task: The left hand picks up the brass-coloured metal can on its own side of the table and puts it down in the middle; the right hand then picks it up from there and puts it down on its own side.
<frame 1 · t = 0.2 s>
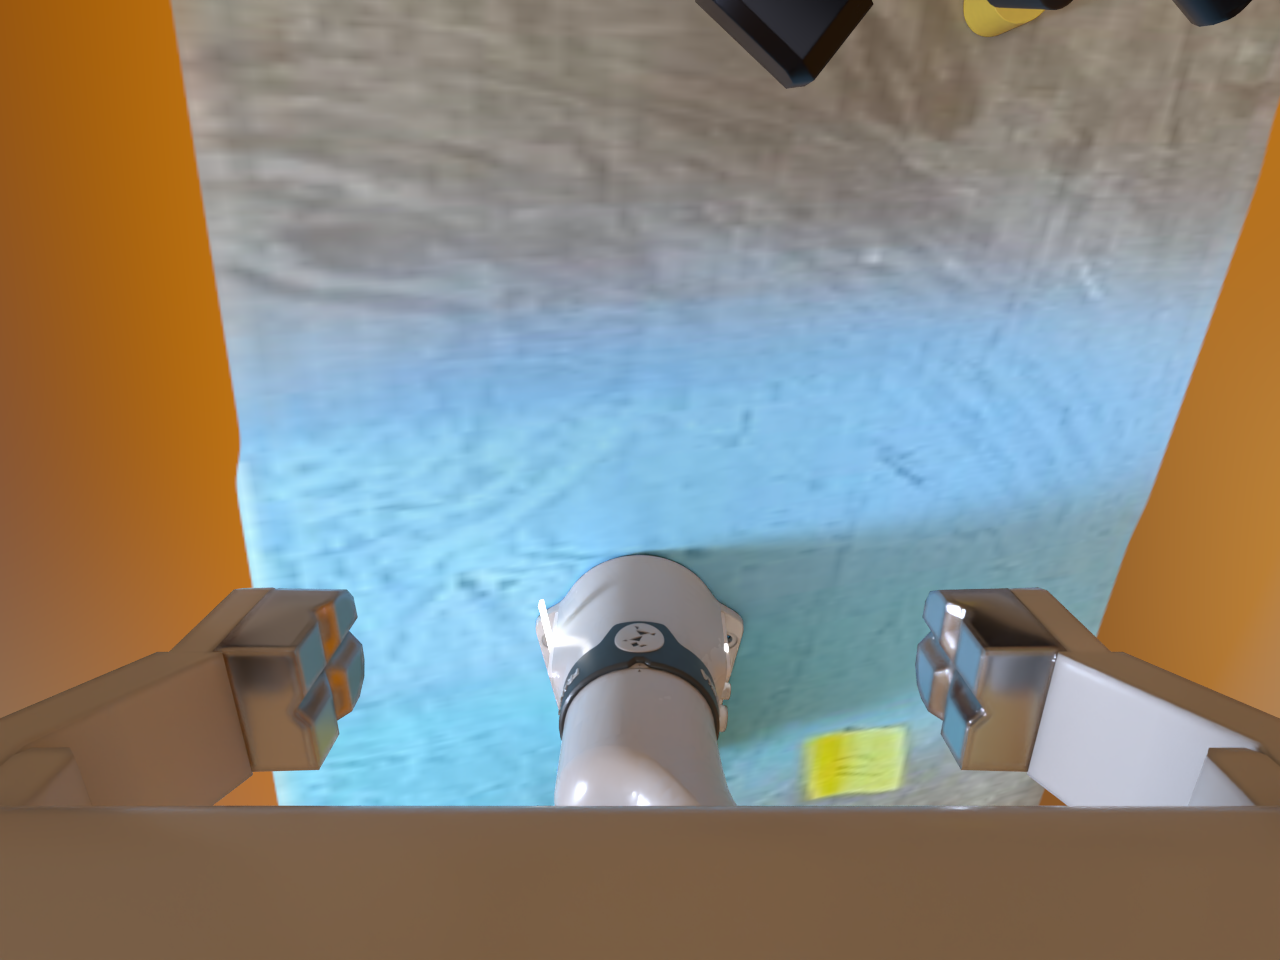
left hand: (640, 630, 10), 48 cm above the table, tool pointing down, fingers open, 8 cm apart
can: (993, 2, 48), on the table
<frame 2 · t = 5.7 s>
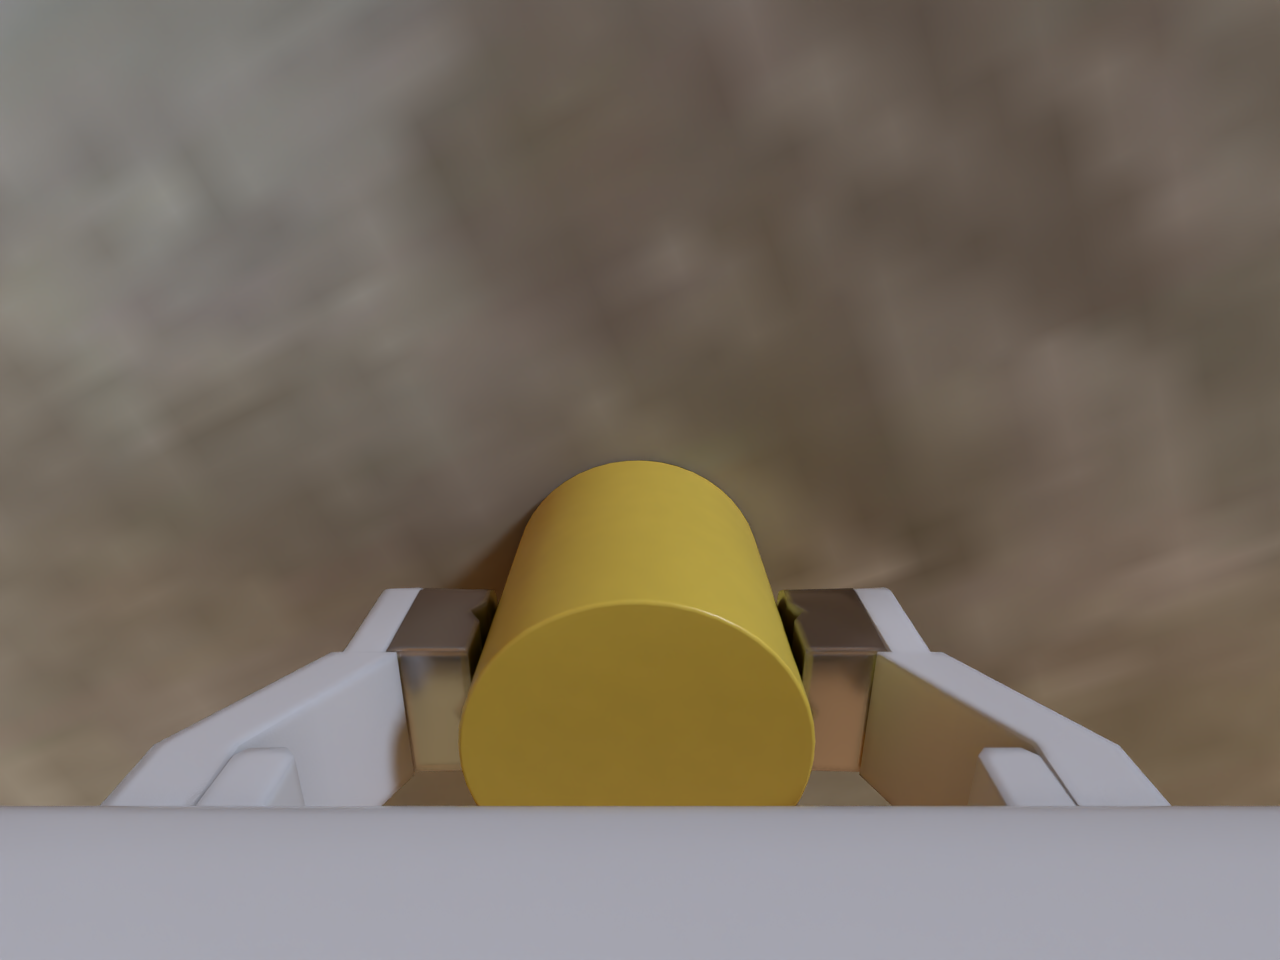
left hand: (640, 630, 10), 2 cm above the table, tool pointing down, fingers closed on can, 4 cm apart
can: (637, 572, 12), on the table, touching left hand
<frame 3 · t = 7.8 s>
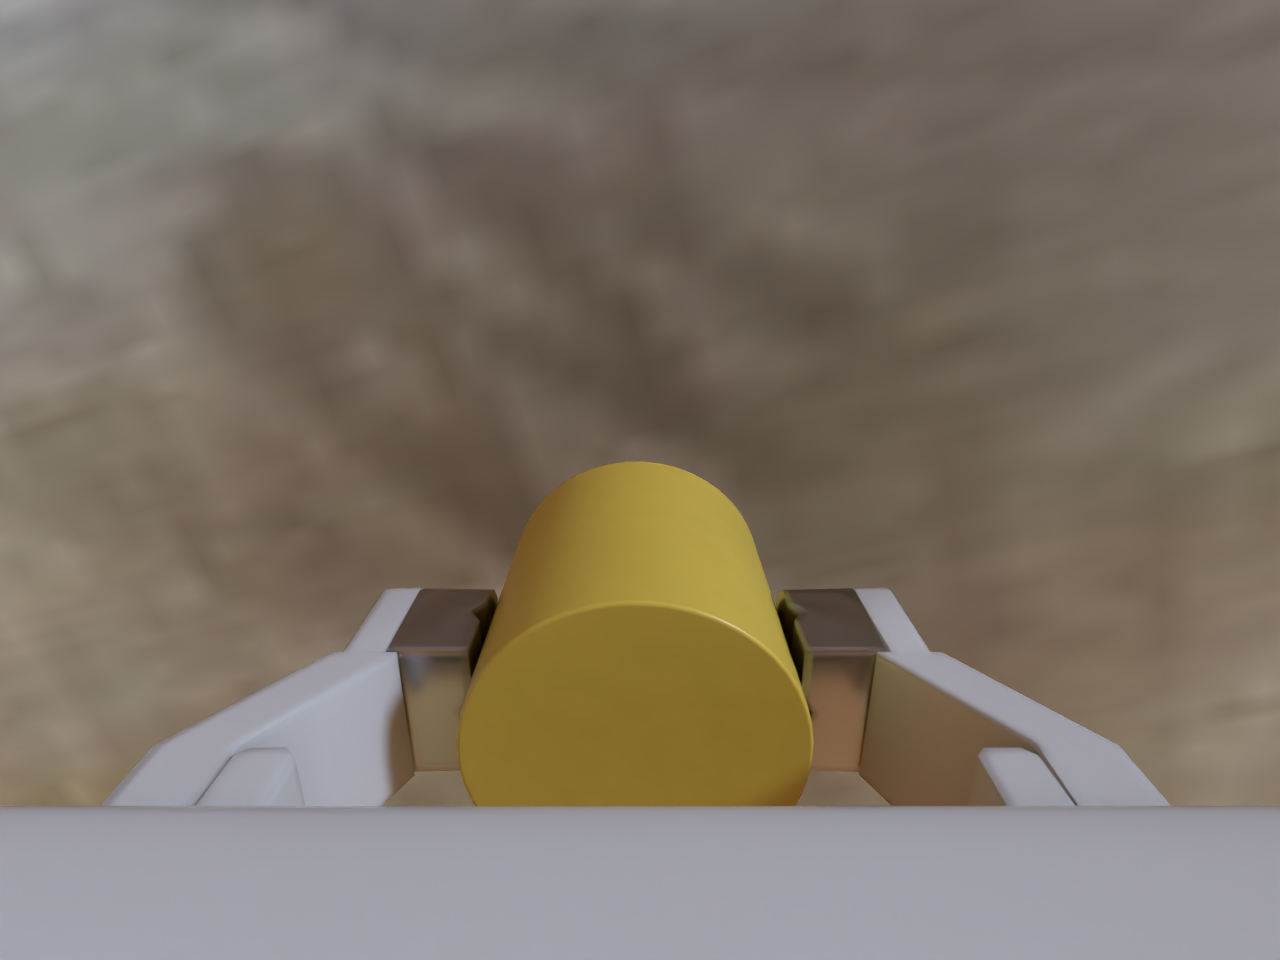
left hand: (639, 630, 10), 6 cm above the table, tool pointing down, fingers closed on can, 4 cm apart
can: (636, 573, 12), point 4 cm above the table, touching left hand
when the left hand's fingers open (3 cm above the table, at t = 9.7 s): can stays where it is, on the table.
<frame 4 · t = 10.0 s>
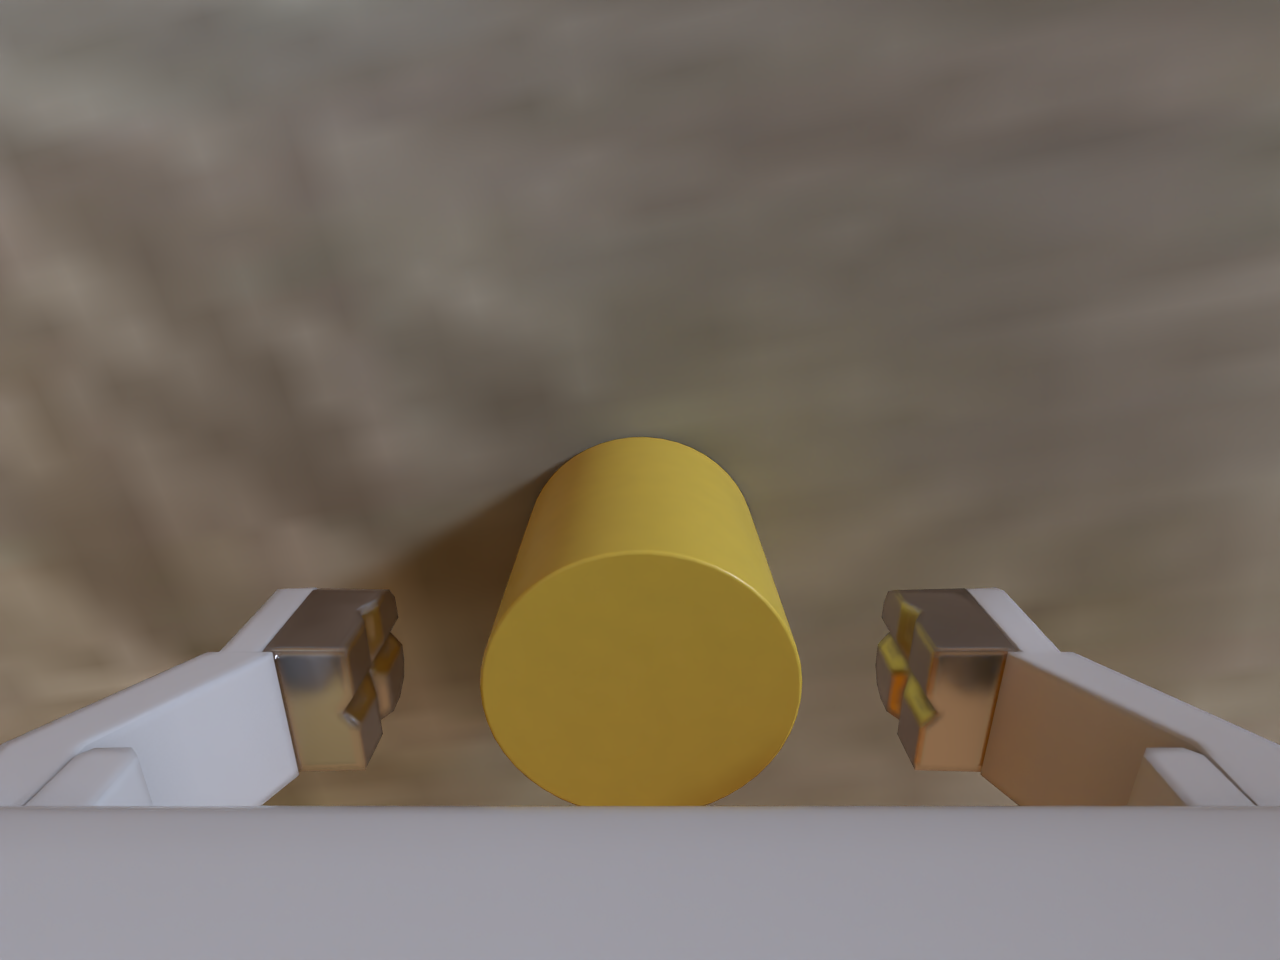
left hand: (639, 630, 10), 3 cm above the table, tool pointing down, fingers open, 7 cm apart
can: (640, 543, 13), on the table
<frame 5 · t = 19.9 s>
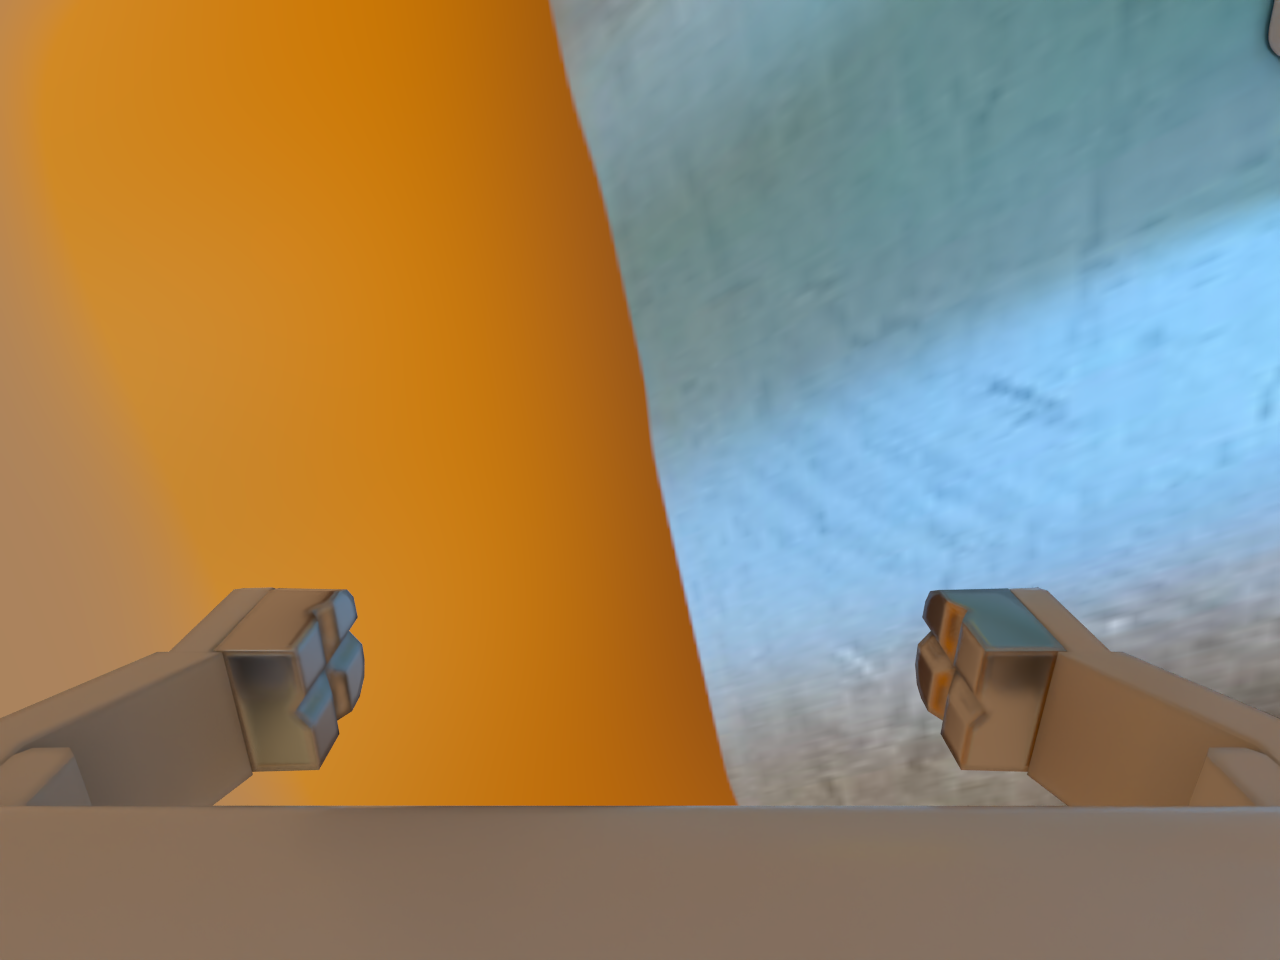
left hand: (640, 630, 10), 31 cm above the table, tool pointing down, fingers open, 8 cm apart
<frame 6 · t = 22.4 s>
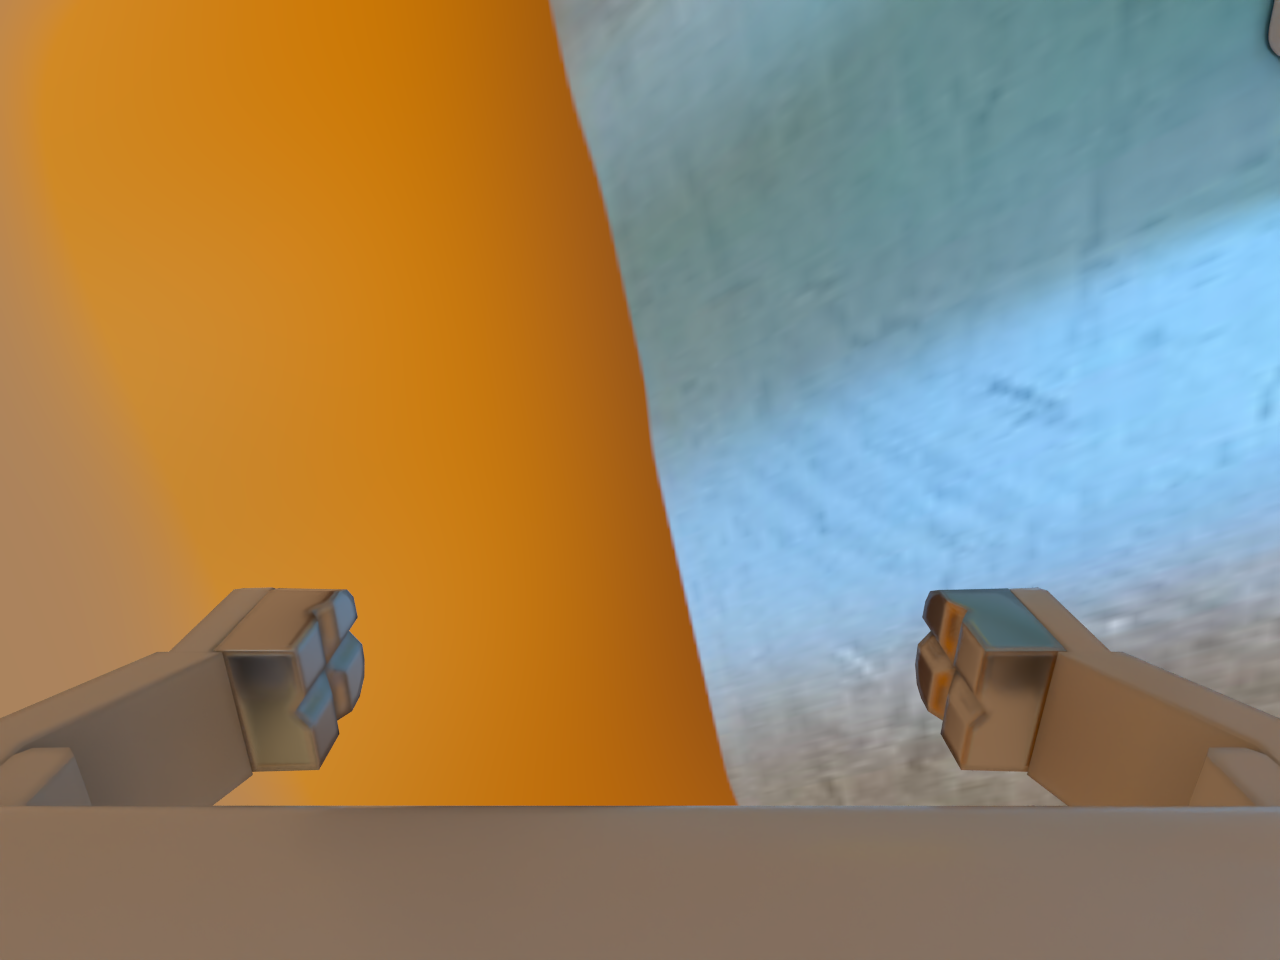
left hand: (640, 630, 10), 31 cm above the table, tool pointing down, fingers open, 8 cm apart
when the right hand's fingers open (2 cm above the table, at t = 25.1 s): can stays where it is, on the table.
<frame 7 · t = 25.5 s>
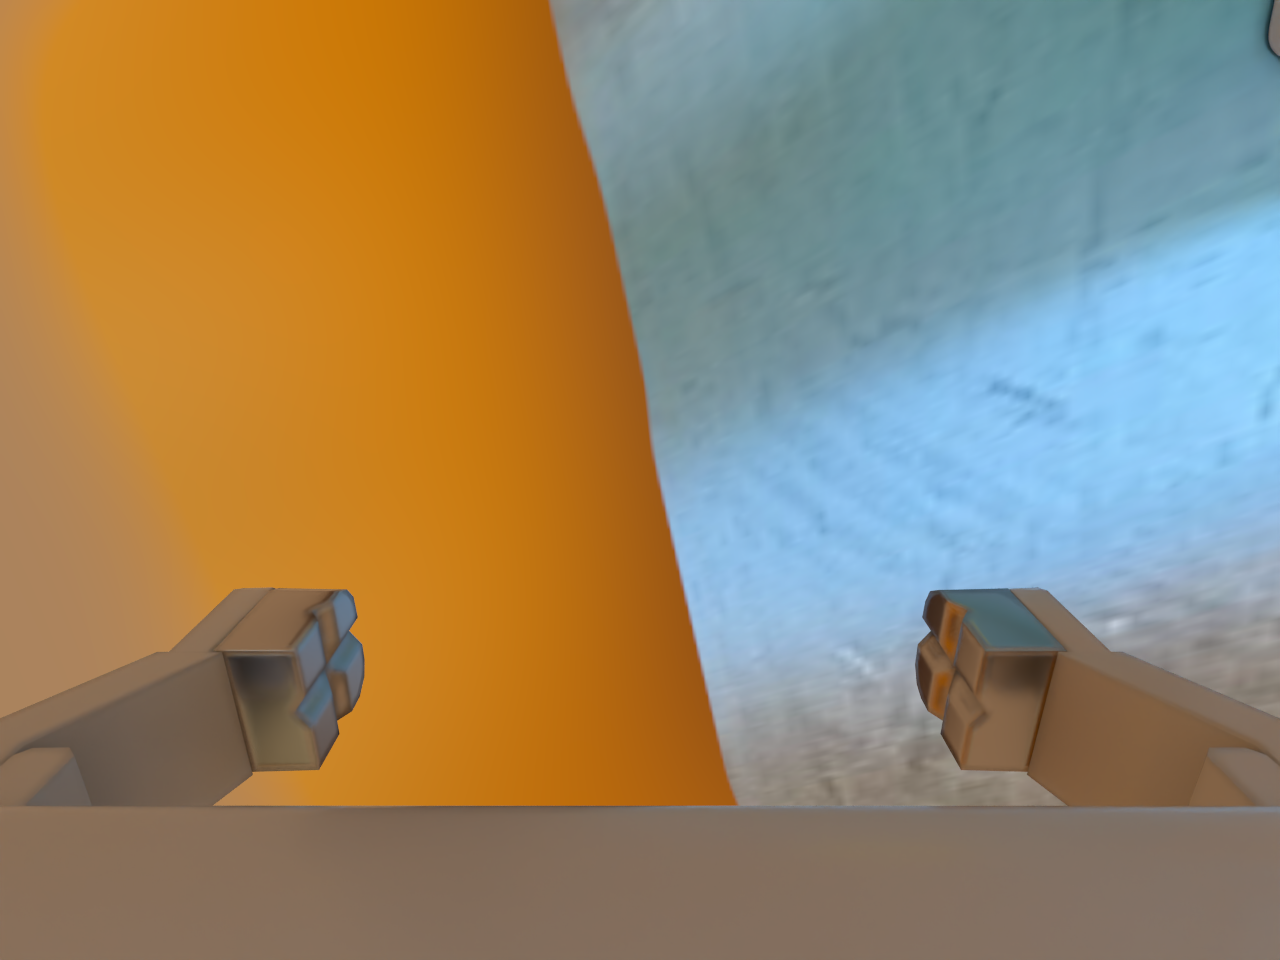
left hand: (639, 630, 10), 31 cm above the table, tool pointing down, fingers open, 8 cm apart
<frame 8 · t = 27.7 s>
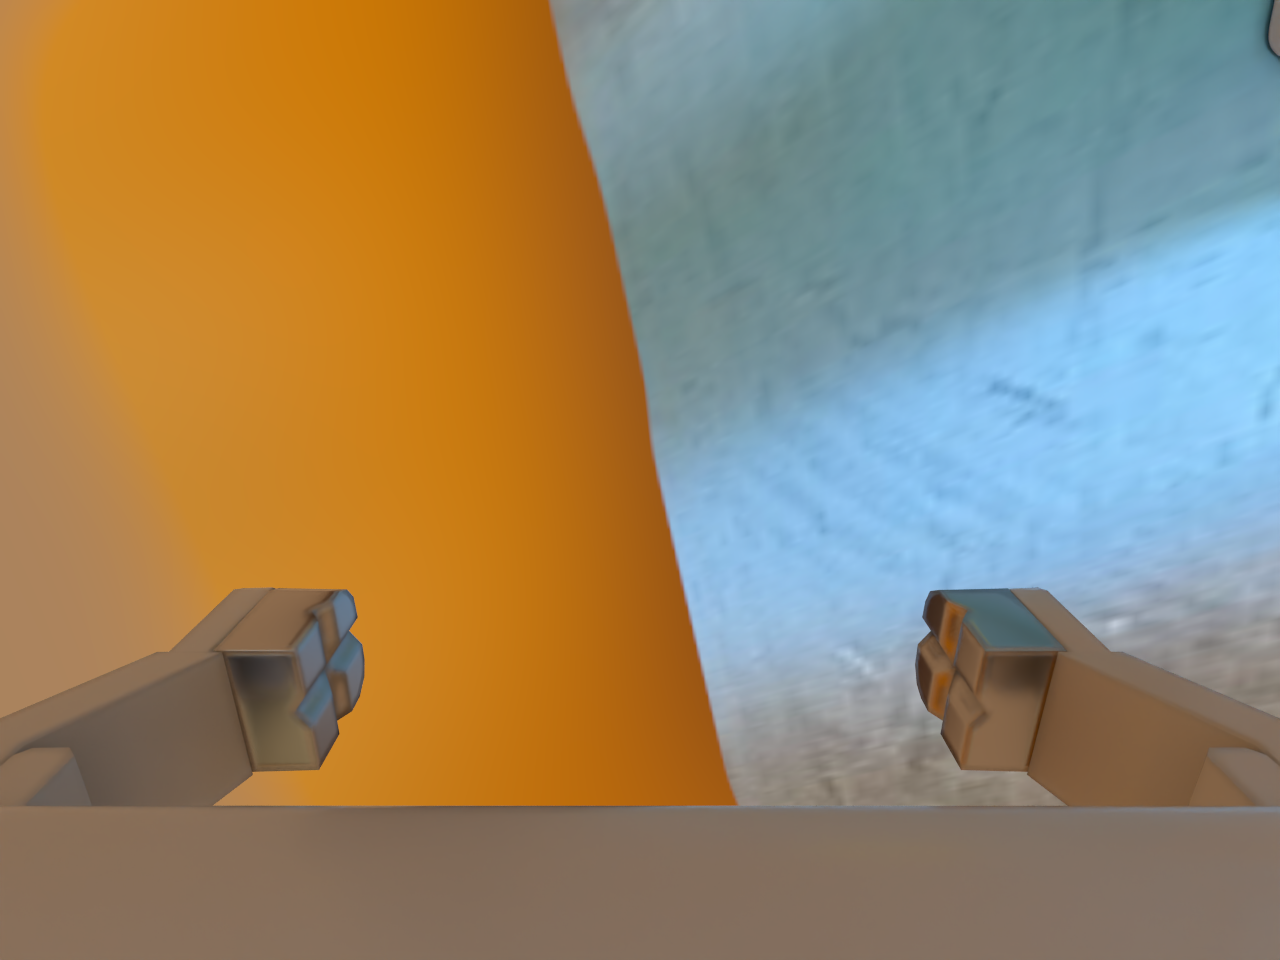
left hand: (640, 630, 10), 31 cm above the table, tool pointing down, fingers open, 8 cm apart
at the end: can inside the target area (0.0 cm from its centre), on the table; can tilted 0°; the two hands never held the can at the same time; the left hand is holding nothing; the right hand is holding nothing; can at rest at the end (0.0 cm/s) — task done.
